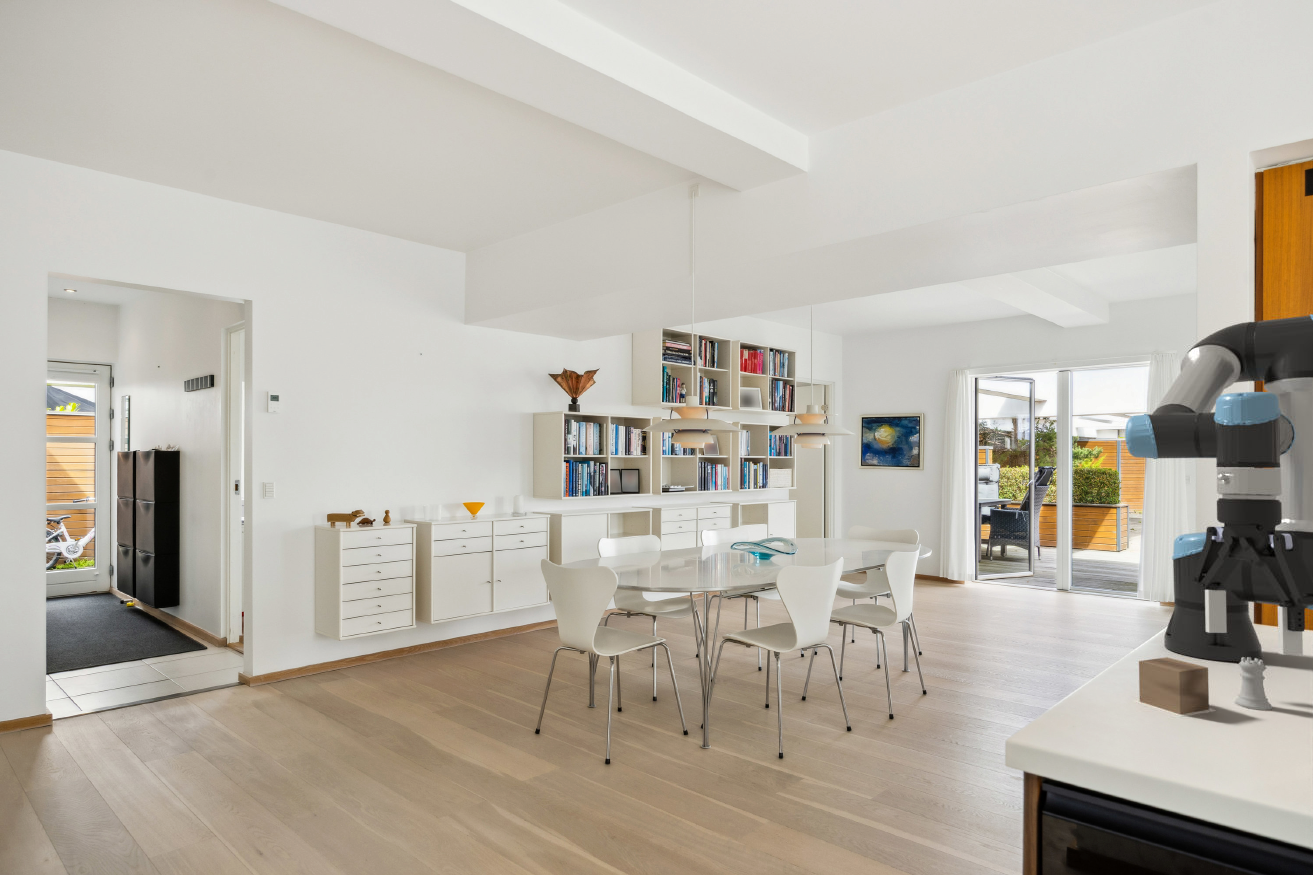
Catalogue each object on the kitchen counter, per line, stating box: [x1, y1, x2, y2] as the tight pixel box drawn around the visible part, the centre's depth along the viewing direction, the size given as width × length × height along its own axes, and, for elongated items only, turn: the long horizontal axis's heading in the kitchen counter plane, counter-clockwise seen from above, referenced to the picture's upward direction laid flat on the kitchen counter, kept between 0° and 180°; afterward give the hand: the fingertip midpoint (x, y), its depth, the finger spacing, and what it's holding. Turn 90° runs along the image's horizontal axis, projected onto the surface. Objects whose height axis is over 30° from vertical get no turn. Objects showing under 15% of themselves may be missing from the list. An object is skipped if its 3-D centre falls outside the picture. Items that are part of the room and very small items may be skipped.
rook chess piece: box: [1234, 657, 1273, 711], centre depth 110 cm, size 4×4×8 cm
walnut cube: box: [1138, 657, 1210, 715], centre depth 110 cm, size 6×6×6 cm
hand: (1251, 642), depth 110 cm, fingers open, 13 cm apart
